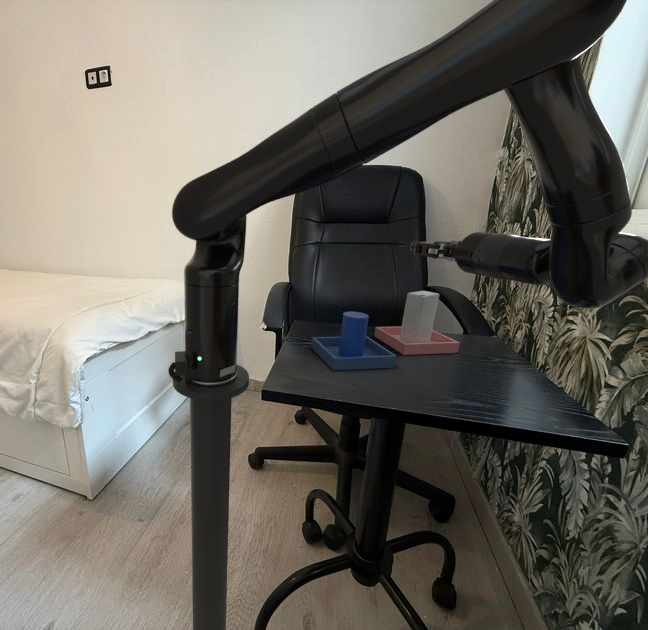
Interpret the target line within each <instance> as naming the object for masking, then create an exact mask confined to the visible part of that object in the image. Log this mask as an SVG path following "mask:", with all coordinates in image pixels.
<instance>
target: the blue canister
mask: <svg viewBox="0 0 648 630" xmlns="http://www.w3.org/2000/svg"><path fill="white" fill-rule="evenodd" d="M369 317H370V316H369V315H368V314H367V313H364V312H359V311H344V312H343V313H342V321H341V331H340V337H341V338H340V347H339V355H340V356H342V357H362V356H363V354H364V347H365V340H366V336H367V332H368V331H367V330H368V323H369Z"/></svg>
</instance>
